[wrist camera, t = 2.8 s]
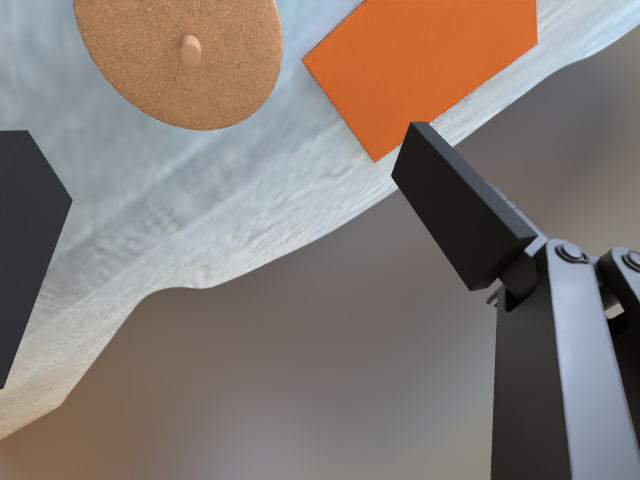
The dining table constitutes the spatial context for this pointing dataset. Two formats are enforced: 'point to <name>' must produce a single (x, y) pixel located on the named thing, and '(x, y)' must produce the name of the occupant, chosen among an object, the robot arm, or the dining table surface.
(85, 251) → the dining table surface
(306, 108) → the dining table surface
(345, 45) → the mat
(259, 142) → the dining table surface
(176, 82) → the trinket box
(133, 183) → the dining table surface
